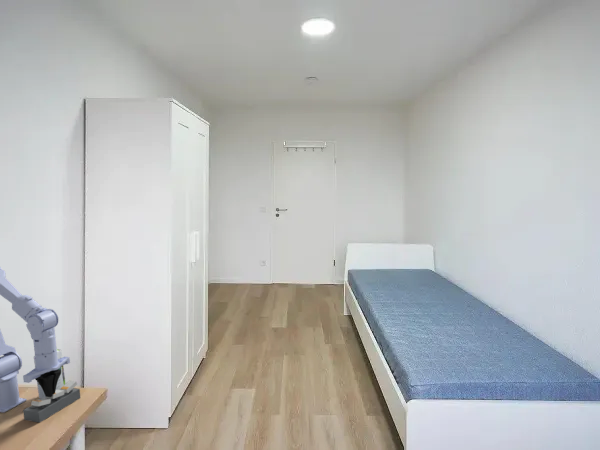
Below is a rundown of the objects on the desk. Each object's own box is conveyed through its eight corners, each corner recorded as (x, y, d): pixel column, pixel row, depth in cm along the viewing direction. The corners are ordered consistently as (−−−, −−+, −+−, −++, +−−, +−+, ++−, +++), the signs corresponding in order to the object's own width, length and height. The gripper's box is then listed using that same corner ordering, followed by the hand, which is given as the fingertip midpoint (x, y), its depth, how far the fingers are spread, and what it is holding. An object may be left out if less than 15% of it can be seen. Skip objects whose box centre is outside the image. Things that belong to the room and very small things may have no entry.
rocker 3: (60, 392, 140) (59, 388, 139) (70, 383, 143) (69, 380, 143) (67, 393, 139) (66, 389, 138) (77, 384, 142) (76, 381, 142)
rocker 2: (46, 397, 135) (46, 393, 135) (57, 393, 139) (57, 389, 139) (53, 398, 134) (53, 394, 134) (64, 394, 138) (64, 390, 138)
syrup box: (54, 399, 143) (49, 355, 141) (38, 398, 144) (33, 355, 143) (66, 391, 148) (62, 348, 147) (51, 390, 150) (46, 348, 148)
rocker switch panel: (24, 419, 131) (22, 407, 131) (65, 395, 145) (64, 384, 145) (39, 422, 129) (38, 410, 129) (80, 397, 143) (79, 386, 143)
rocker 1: (31, 405, 130) (31, 400, 130) (43, 402, 134) (43, 397, 134) (38, 406, 129) (39, 401, 129) (50, 403, 133) (50, 398, 133)
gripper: (34, 362, 125) (39, 408, 126) (75, 343, 139) (79, 386, 140) (15, 360, 128) (20, 406, 129) (58, 342, 141) (62, 384, 142)
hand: (50, 395), depth 135 cm, fingers closed, pressing on rocker 2
